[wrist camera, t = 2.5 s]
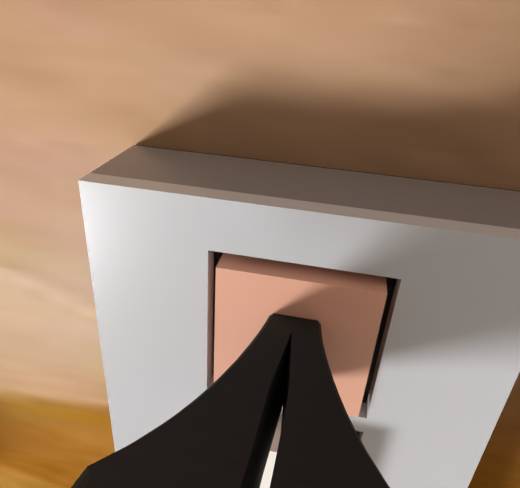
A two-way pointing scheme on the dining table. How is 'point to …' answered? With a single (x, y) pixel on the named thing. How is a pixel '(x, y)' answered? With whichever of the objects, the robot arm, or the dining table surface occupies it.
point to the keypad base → (320, 255)
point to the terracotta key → (301, 314)
